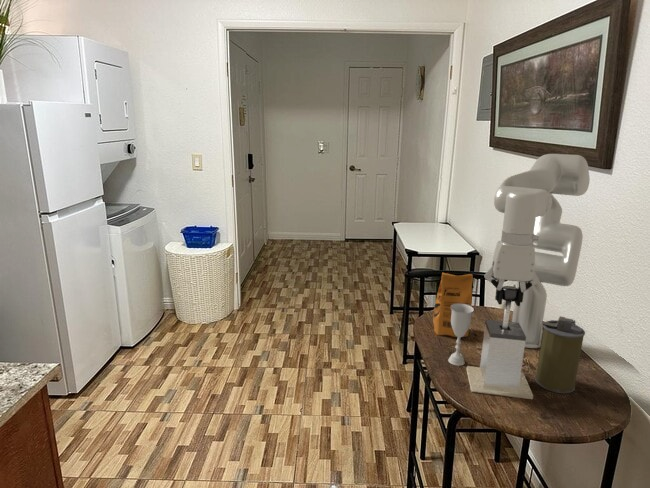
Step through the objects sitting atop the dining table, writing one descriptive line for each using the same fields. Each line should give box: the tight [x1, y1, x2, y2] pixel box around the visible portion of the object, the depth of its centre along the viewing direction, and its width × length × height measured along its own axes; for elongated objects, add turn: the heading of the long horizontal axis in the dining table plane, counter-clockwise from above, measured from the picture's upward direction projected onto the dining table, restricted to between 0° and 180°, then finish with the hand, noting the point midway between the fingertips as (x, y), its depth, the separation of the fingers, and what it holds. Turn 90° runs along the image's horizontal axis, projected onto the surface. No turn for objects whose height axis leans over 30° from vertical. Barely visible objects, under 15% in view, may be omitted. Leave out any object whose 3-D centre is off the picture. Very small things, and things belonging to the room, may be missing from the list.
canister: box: [534, 316, 586, 394], centre depth 124 cm, size 11×10×20 cm
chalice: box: [447, 303, 474, 367], centre depth 136 cm, size 7×7×18 cm
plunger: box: [502, 285, 518, 330], centre depth 122 cm, size 6×6×22 cm
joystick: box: [465, 319, 534, 400], centre depth 124 cm, size 16×12×17 cm
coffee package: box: [432, 272, 474, 338], centre depth 156 cm, size 10×12×22 cm
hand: (508, 302), depth 120 cm, fingers closed on plunger, 4 cm apart
